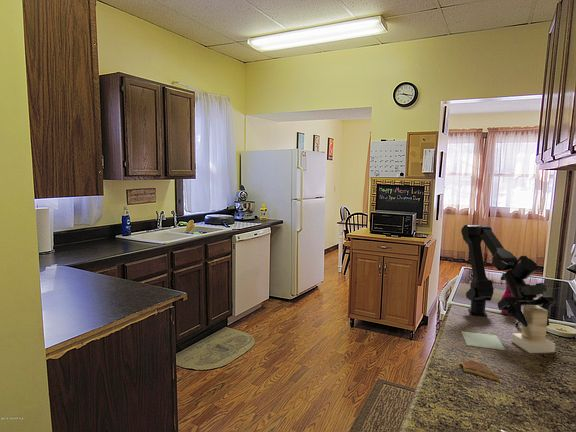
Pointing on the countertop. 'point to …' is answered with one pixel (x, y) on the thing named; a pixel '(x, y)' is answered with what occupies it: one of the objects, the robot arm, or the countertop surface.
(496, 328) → the countertop surface
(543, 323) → the oak block
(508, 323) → the countertop surface
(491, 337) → the mat
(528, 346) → the stand
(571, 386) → the countertop surface
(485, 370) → the shard
